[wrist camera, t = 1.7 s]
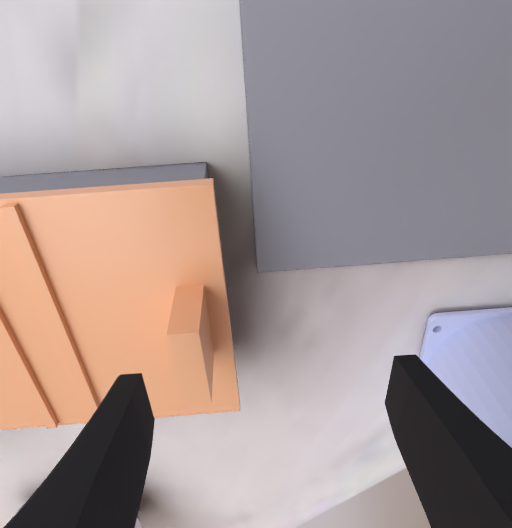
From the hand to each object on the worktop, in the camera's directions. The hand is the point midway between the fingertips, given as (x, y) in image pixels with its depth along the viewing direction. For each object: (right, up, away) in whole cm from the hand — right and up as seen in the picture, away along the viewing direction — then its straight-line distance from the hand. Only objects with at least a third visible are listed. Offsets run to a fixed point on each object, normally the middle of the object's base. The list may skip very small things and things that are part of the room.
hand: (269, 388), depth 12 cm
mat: (+7, +11, +6) cm, 14 cm away
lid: (-8, +1, +7) cm, 11 cm away
